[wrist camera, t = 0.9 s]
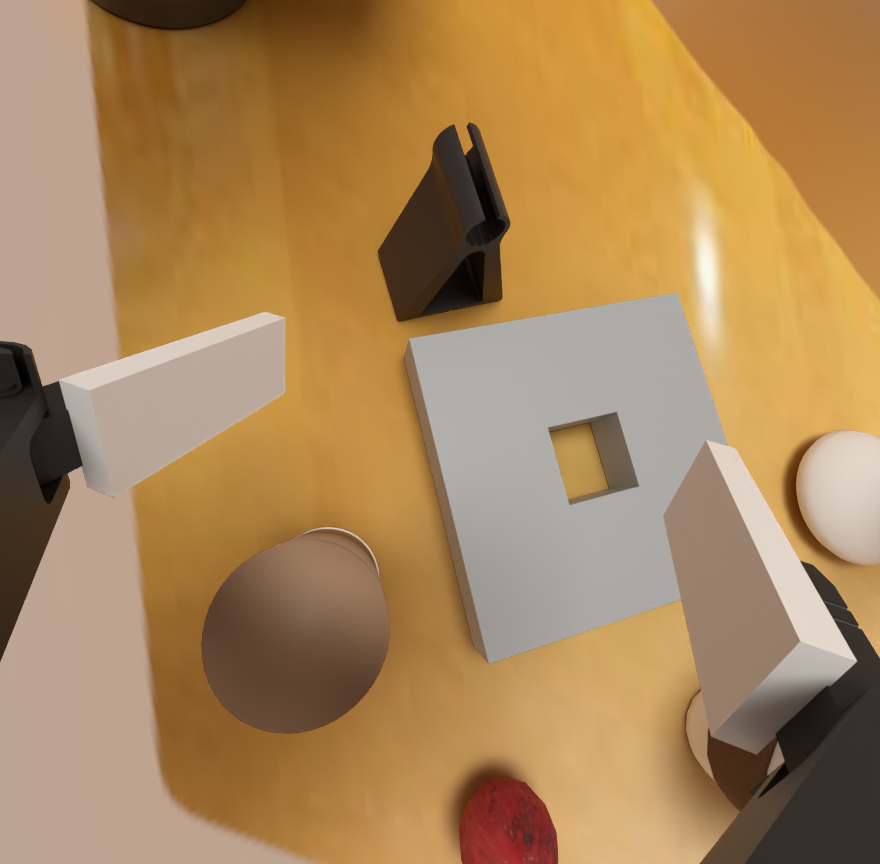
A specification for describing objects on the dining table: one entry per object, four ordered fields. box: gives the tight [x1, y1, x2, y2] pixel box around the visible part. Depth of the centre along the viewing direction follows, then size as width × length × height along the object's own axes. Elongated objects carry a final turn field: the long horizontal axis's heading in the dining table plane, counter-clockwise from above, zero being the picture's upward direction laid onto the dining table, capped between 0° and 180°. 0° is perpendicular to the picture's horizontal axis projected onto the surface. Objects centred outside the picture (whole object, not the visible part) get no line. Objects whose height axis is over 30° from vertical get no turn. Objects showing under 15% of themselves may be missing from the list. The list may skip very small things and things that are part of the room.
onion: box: [459, 777, 558, 864], centre depth 27 cm, size 6×6×8 cm
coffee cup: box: [686, 691, 784, 812], centre depth 28 cm, size 11×11×12 cm
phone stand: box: [378, 123, 510, 321], centre depth 31 cm, size 9×6×12 cm, turn 107°
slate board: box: [404, 293, 728, 664], centre depth 34 cm, size 22×22×4 cm
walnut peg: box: [202, 527, 390, 734], centre depth 24 cm, size 7×7×16 cm
